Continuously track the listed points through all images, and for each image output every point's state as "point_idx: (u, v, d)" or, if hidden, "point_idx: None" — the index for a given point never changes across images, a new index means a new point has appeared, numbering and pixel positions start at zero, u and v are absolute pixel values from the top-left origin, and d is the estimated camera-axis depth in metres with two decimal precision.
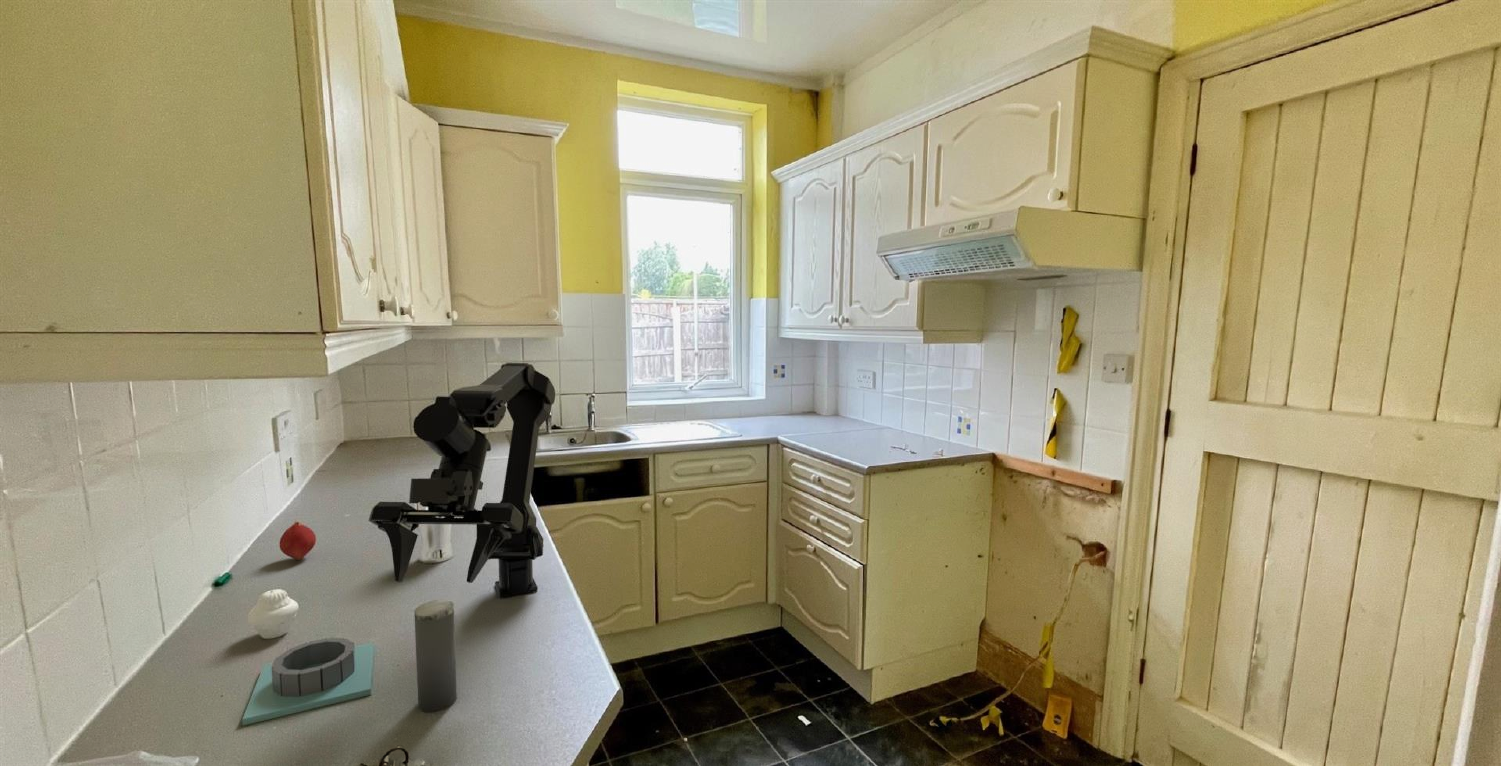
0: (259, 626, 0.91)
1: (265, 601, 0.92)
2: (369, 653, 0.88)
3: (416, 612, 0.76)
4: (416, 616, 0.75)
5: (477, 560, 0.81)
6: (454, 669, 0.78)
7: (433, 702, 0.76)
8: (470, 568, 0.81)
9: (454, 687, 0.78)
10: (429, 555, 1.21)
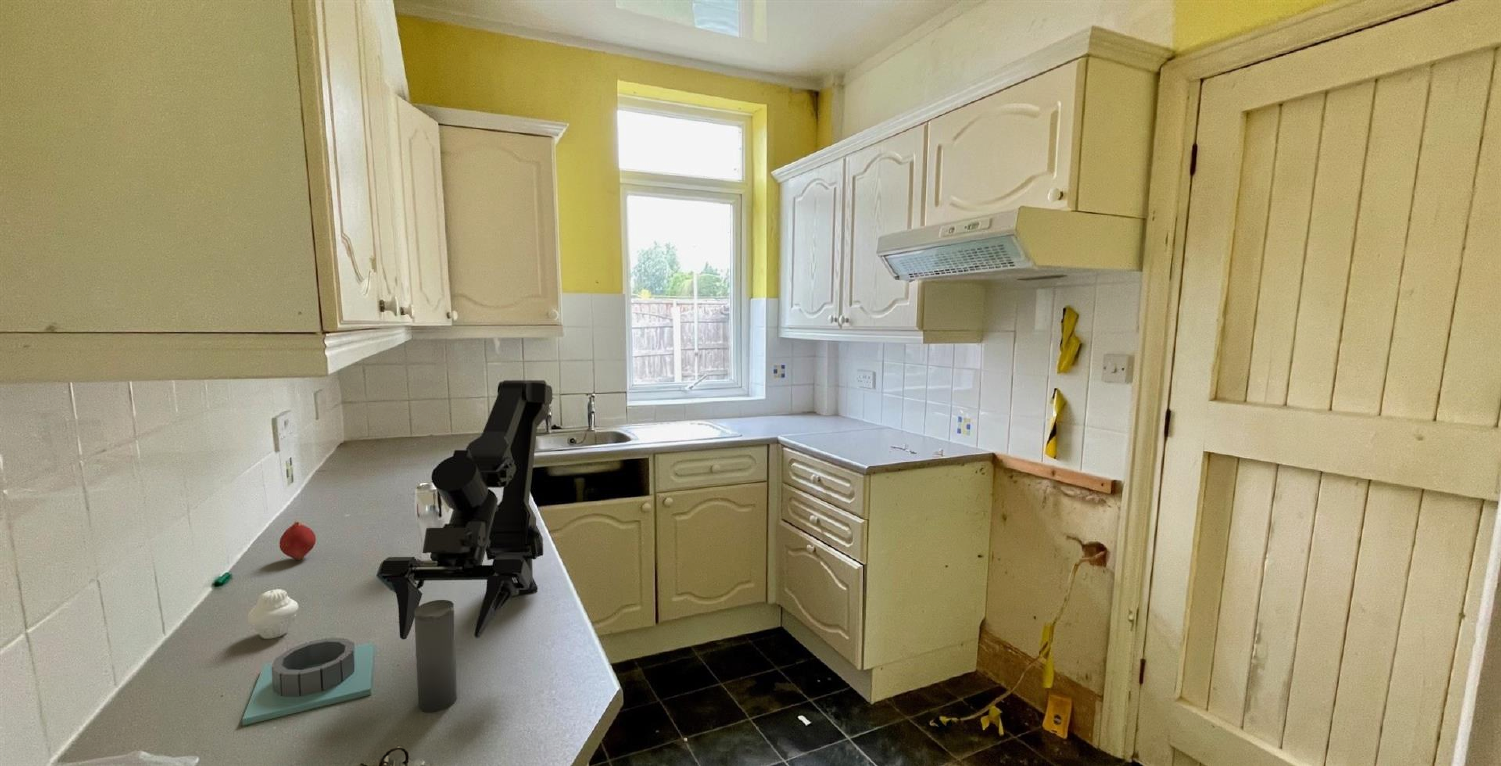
0: (259, 626, 0.91)
1: (265, 601, 0.92)
2: (369, 653, 0.88)
3: (416, 612, 0.76)
4: (416, 616, 0.75)
5: (486, 614, 0.80)
6: (454, 669, 0.78)
7: (433, 702, 0.76)
8: (478, 622, 0.80)
9: (454, 687, 0.78)
10: (429, 555, 1.21)
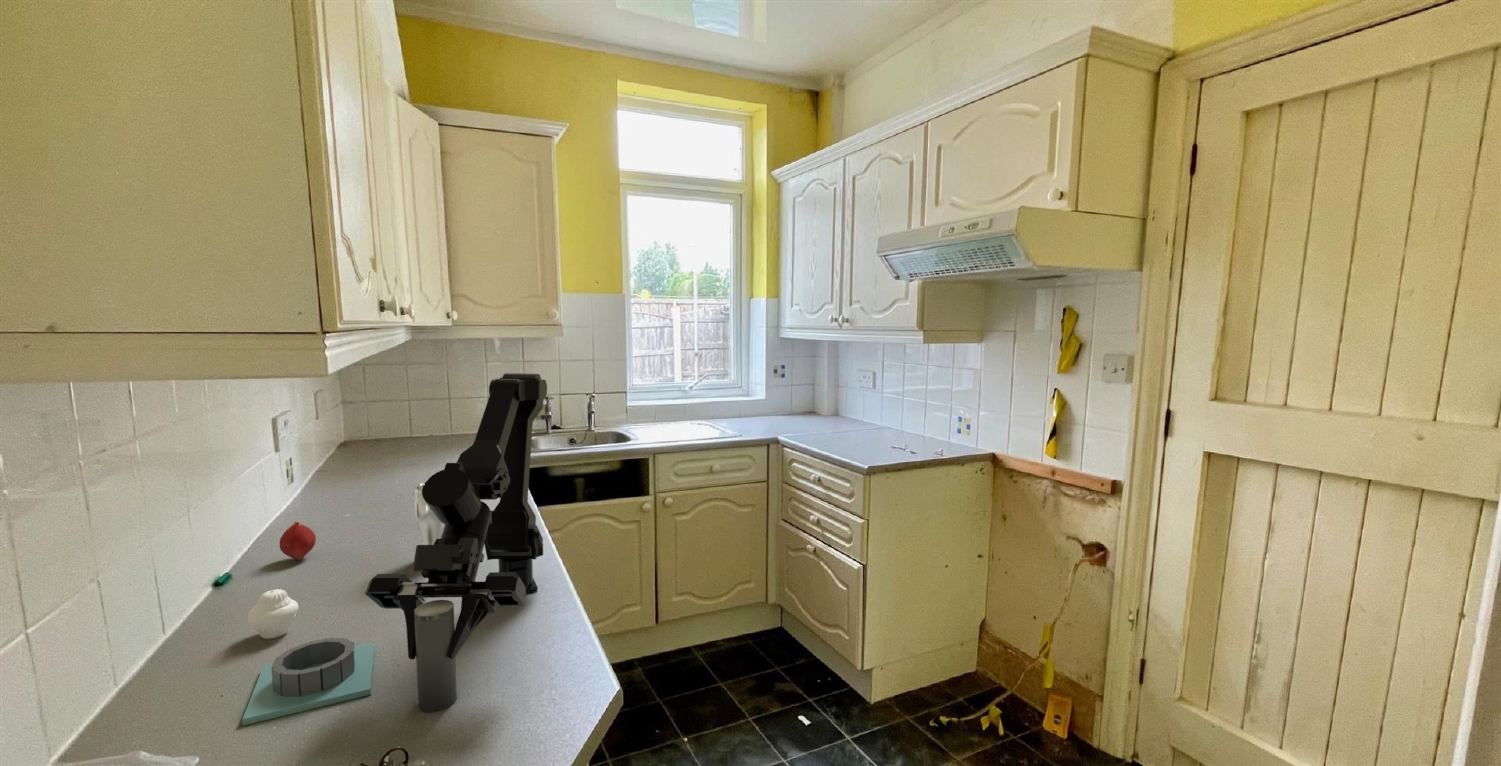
0: (259, 626, 0.91)
1: (265, 601, 0.92)
2: (369, 653, 0.88)
3: (416, 612, 0.76)
4: (416, 616, 0.75)
5: (460, 634, 0.78)
6: (454, 669, 0.78)
7: (433, 702, 0.76)
8: (452, 642, 0.77)
9: (454, 687, 0.78)
10: None
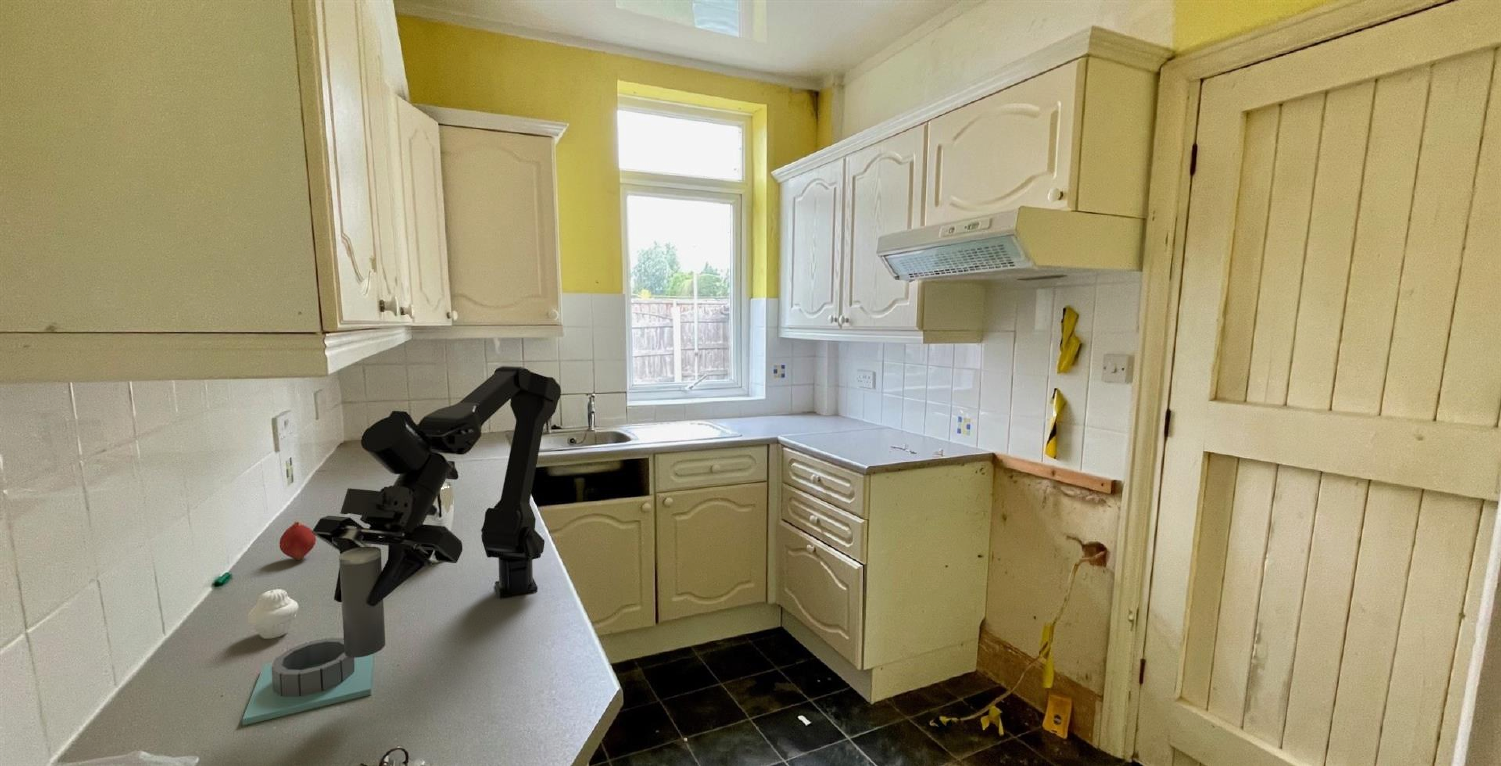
0: (259, 626, 0.91)
1: (265, 601, 0.92)
2: None
3: (341, 555, 0.76)
4: (339, 559, 0.75)
5: (383, 582, 0.76)
6: (379, 618, 0.77)
7: (353, 648, 0.76)
8: (373, 590, 0.76)
9: (377, 636, 0.77)
10: None
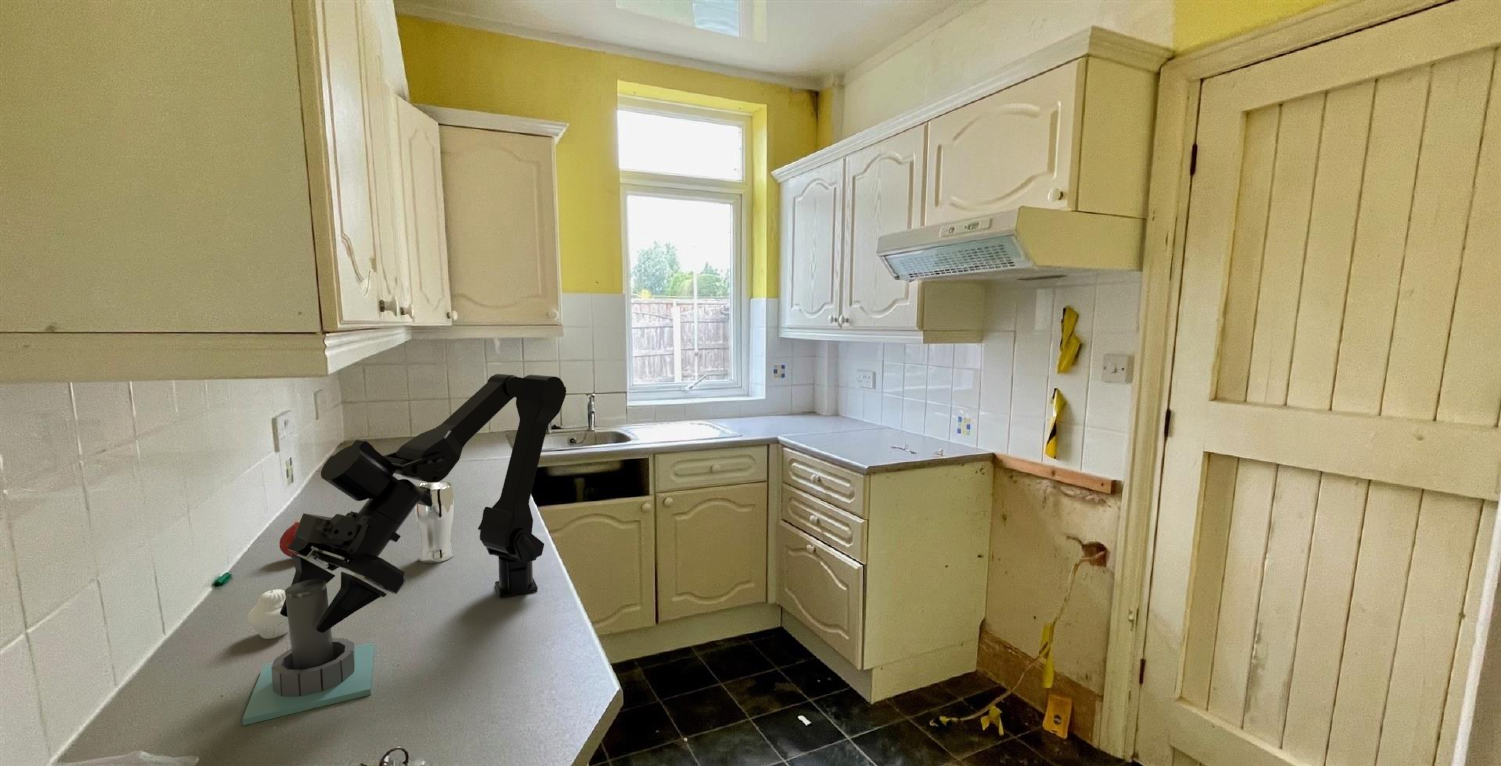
0: (259, 626, 0.91)
1: (265, 601, 0.92)
2: (369, 653, 0.88)
3: (289, 587, 0.80)
4: None
5: (332, 610, 0.78)
6: (322, 649, 0.80)
7: None
8: (323, 616, 0.78)
9: None
10: (429, 555, 1.21)
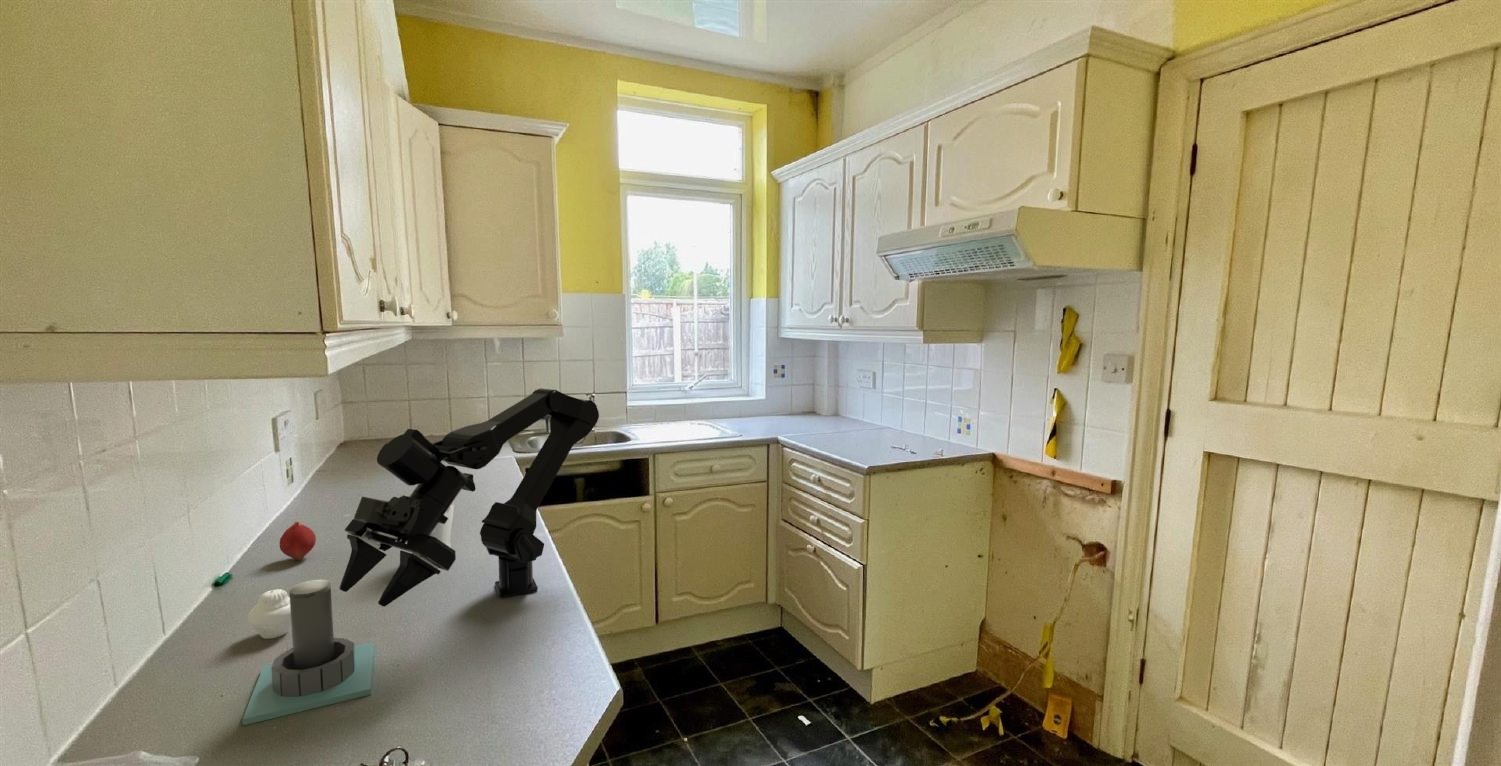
0: (259, 626, 0.91)
1: (265, 601, 0.92)
2: (369, 653, 0.88)
3: (293, 587, 0.80)
4: None
5: (392, 586, 0.85)
6: (323, 650, 0.80)
7: None
8: (384, 591, 0.85)
9: None
10: None
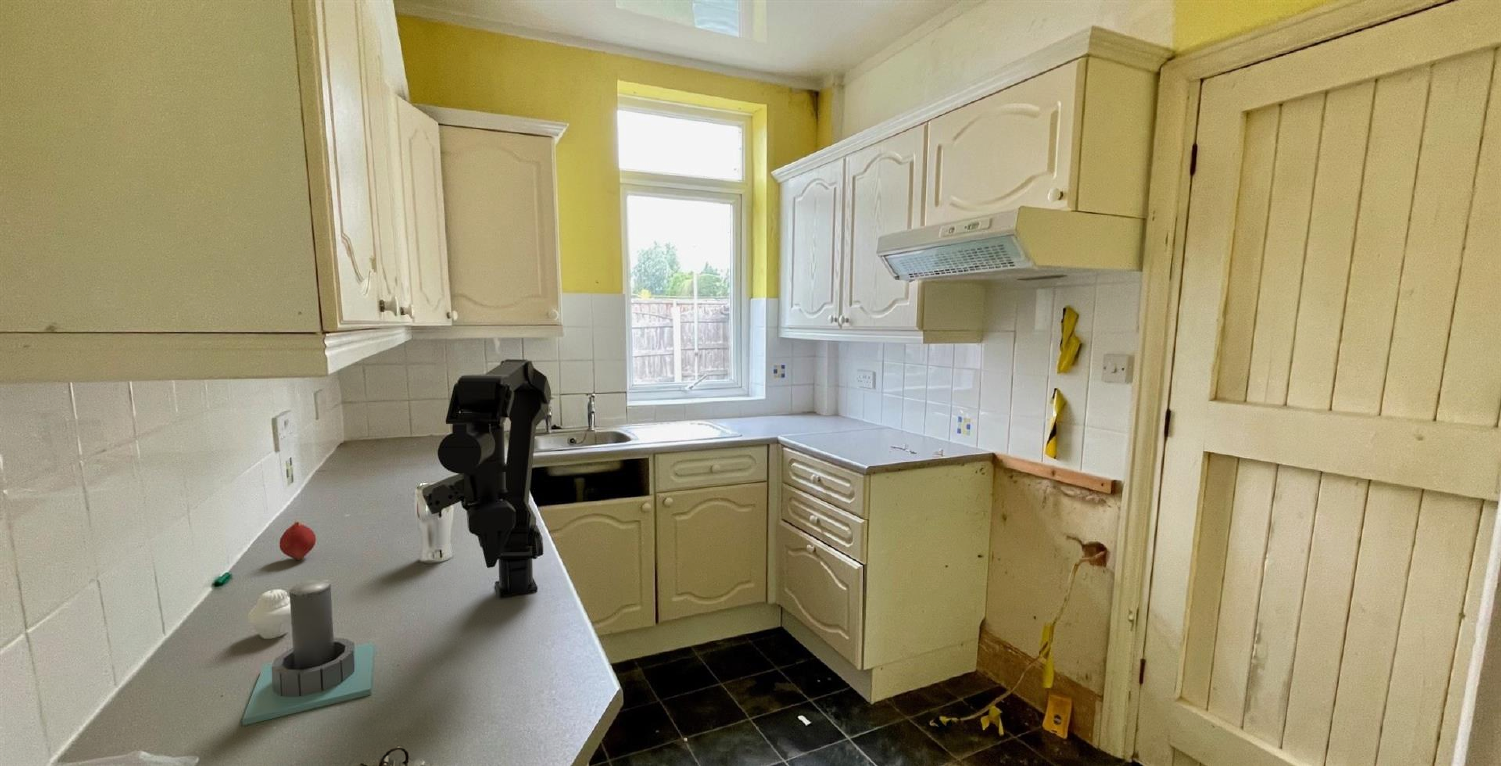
0: (259, 626, 0.91)
1: (265, 601, 0.92)
2: (369, 653, 0.88)
3: (293, 587, 0.80)
4: None
5: (485, 552, 0.90)
6: (323, 650, 0.80)
7: None
8: (484, 557, 0.90)
9: None
10: (429, 555, 1.21)
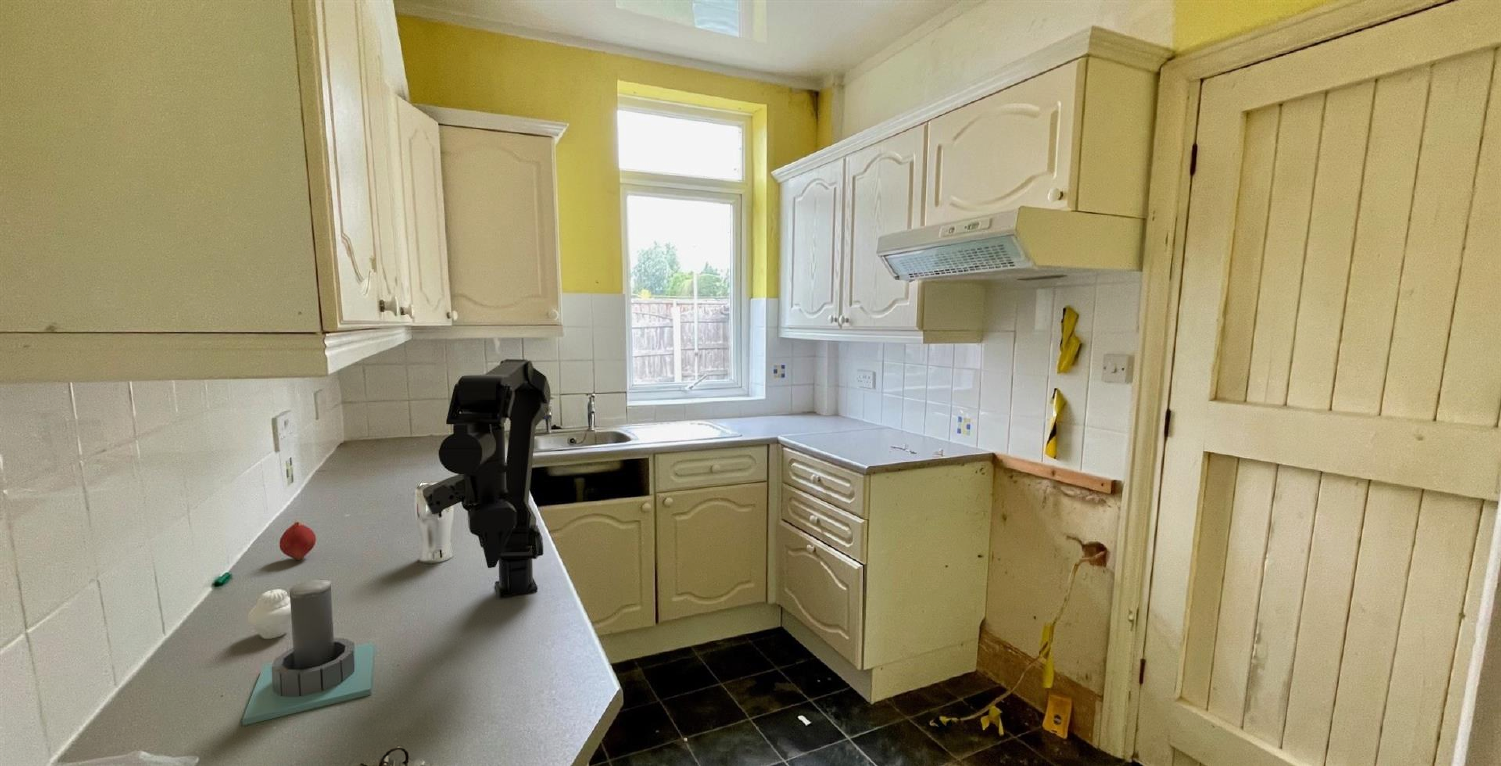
0: (259, 626, 0.91)
1: (265, 601, 0.92)
2: (369, 653, 0.88)
3: (293, 587, 0.80)
4: (290, 590, 0.80)
5: (486, 552, 0.90)
6: (323, 650, 0.80)
7: None
8: (485, 557, 0.90)
9: None
10: (429, 555, 1.21)
